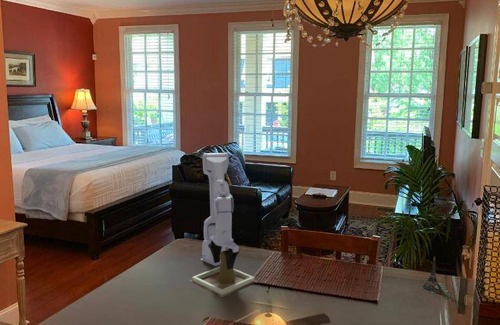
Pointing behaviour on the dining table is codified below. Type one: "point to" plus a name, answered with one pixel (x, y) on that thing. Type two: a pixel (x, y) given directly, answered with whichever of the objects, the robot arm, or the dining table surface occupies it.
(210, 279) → the board
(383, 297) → the dining table surface
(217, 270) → the walled square frame
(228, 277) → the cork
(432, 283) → the eiffel tower figurine
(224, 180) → the robot arm
